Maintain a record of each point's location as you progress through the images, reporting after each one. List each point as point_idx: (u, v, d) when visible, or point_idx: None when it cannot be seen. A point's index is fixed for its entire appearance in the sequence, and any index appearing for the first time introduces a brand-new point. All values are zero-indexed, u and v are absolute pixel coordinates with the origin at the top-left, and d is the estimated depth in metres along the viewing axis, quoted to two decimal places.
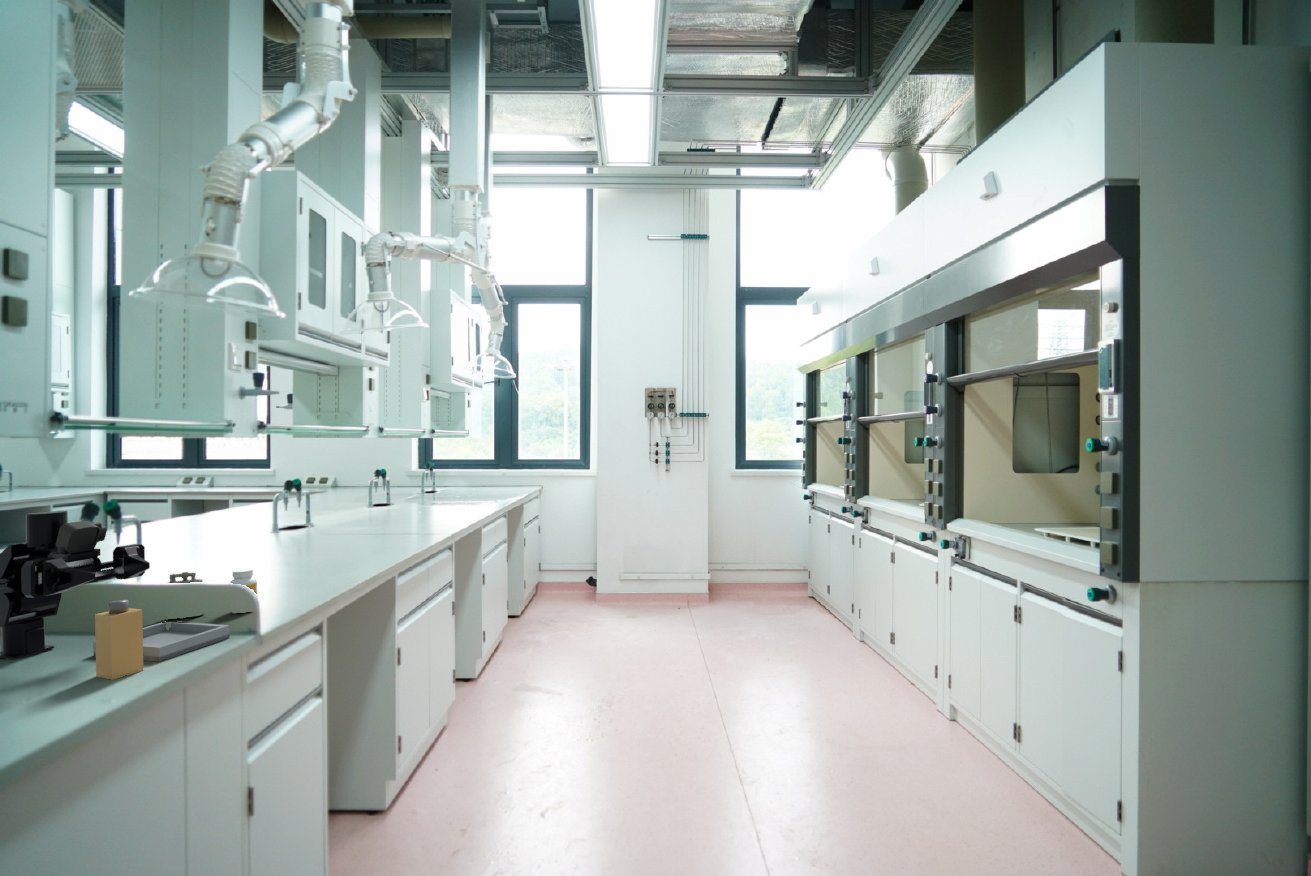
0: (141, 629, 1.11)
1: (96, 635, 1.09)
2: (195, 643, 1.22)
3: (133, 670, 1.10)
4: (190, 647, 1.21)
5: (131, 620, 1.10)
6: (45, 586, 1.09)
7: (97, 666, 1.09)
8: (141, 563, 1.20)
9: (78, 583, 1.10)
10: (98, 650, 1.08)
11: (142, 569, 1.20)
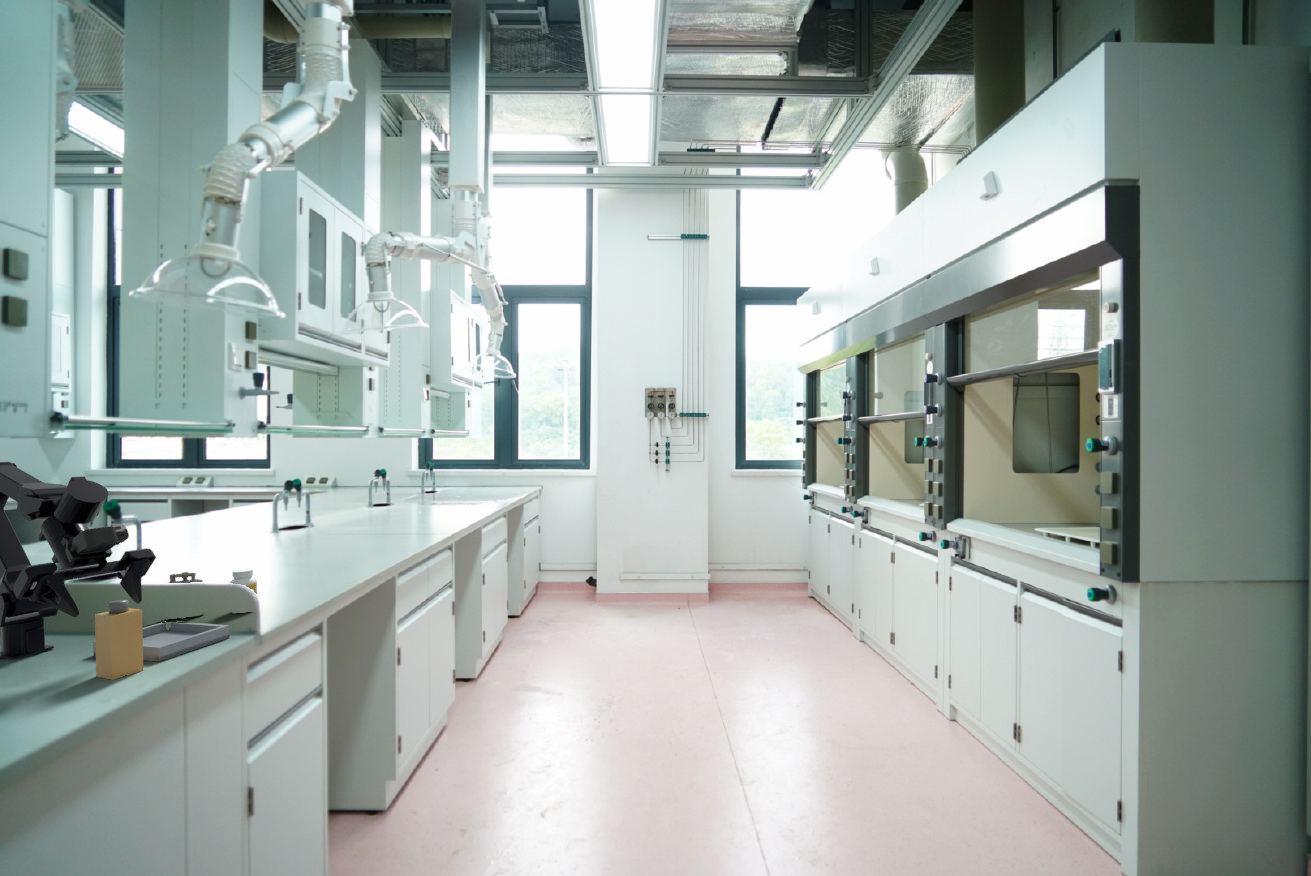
0: (141, 629, 1.11)
1: (96, 635, 1.09)
2: (195, 643, 1.22)
3: (133, 670, 1.10)
4: (190, 647, 1.21)
5: (131, 620, 1.10)
6: (34, 595, 1.06)
7: (97, 666, 1.09)
8: (135, 594, 1.15)
9: (62, 610, 1.07)
10: (98, 650, 1.08)
11: (133, 599, 1.16)
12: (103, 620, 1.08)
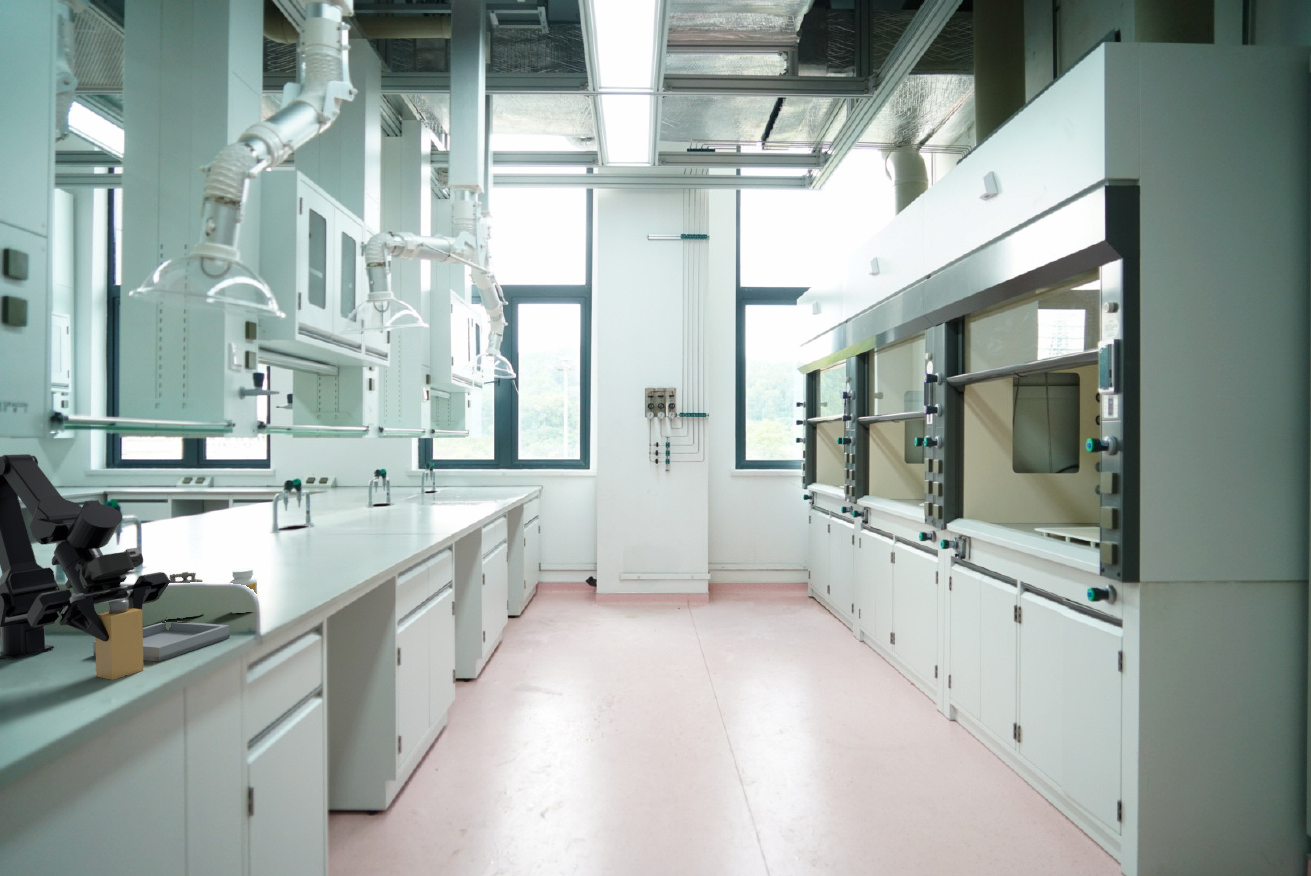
0: (141, 629, 1.11)
1: None
2: (195, 643, 1.22)
3: (133, 670, 1.10)
4: (190, 647, 1.21)
5: (132, 620, 1.10)
6: (64, 620, 1.06)
7: (97, 666, 1.09)
8: None
9: (92, 634, 1.07)
10: (98, 650, 1.08)
11: None
12: (103, 620, 1.08)
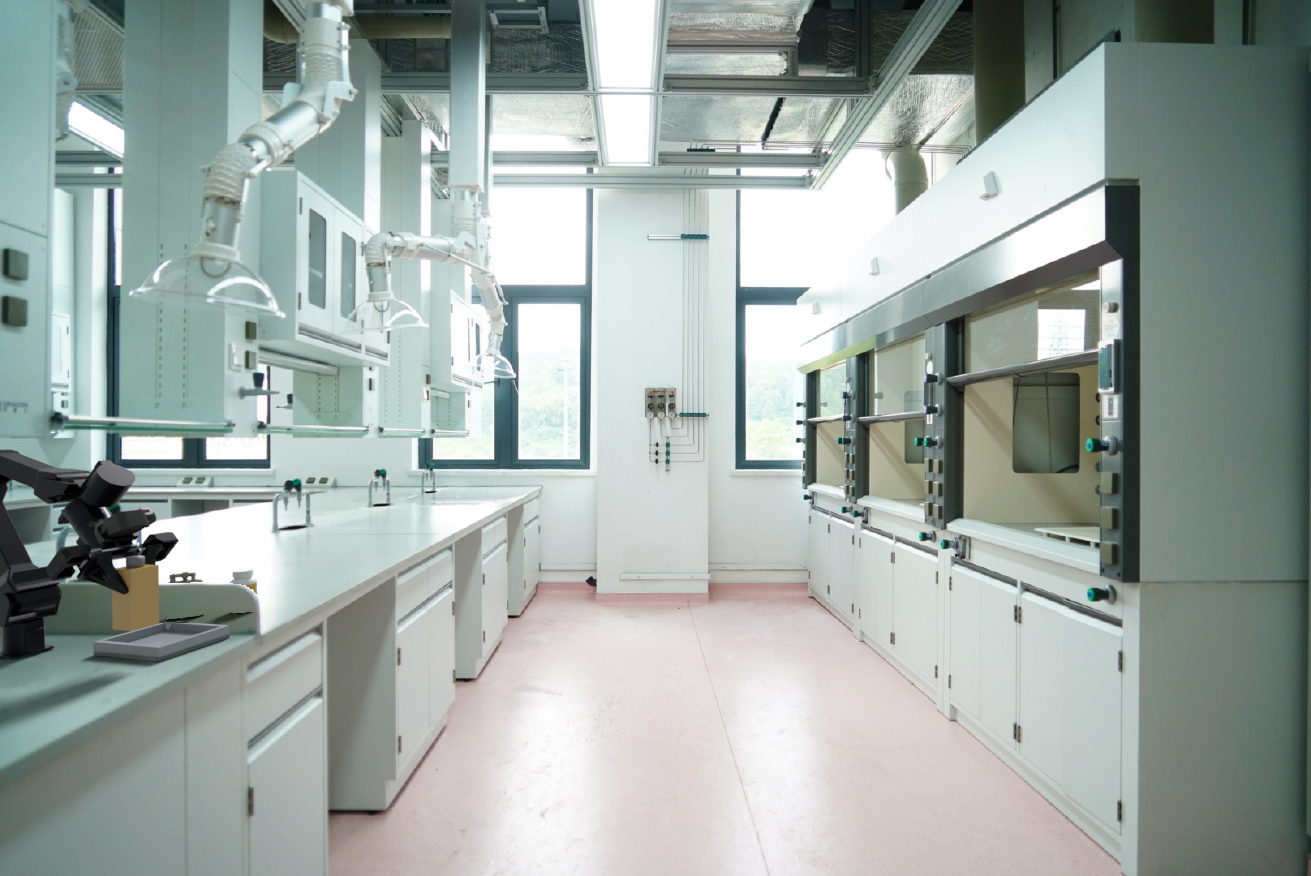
0: (157, 584, 1.15)
1: None
2: (195, 643, 1.22)
3: (150, 623, 1.14)
4: (190, 647, 1.21)
5: (149, 575, 1.14)
6: (82, 574, 1.10)
7: (114, 619, 1.12)
8: None
9: (110, 588, 1.11)
10: (115, 604, 1.12)
11: None
12: (122, 574, 1.12)
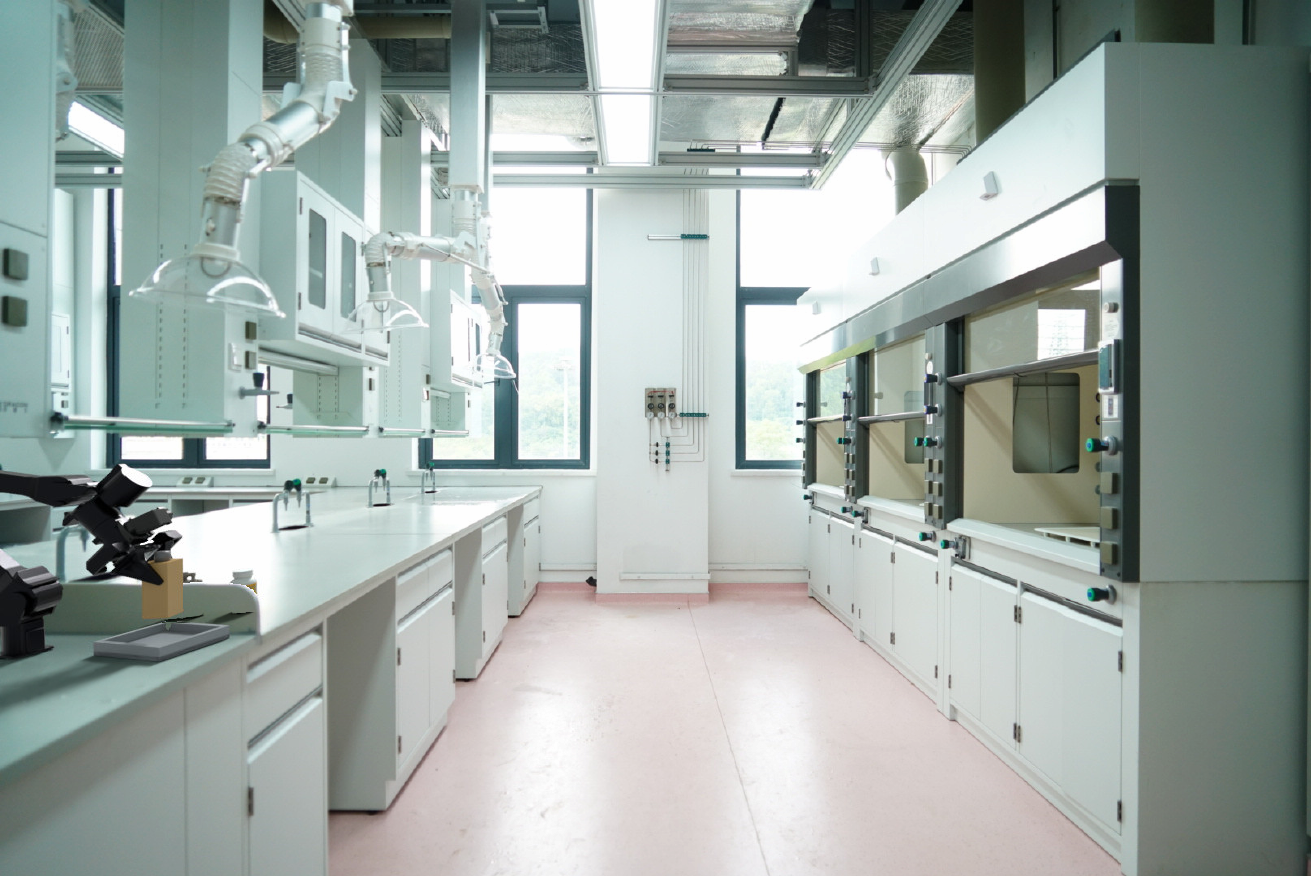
0: (182, 575, 1.27)
1: (143, 582, 1.22)
2: (195, 643, 1.22)
3: (178, 611, 1.25)
4: (190, 647, 1.21)
5: (177, 567, 1.25)
6: (117, 568, 1.18)
7: (144, 609, 1.22)
8: None
9: (144, 580, 1.21)
10: (146, 595, 1.22)
11: None
12: (155, 567, 1.22)
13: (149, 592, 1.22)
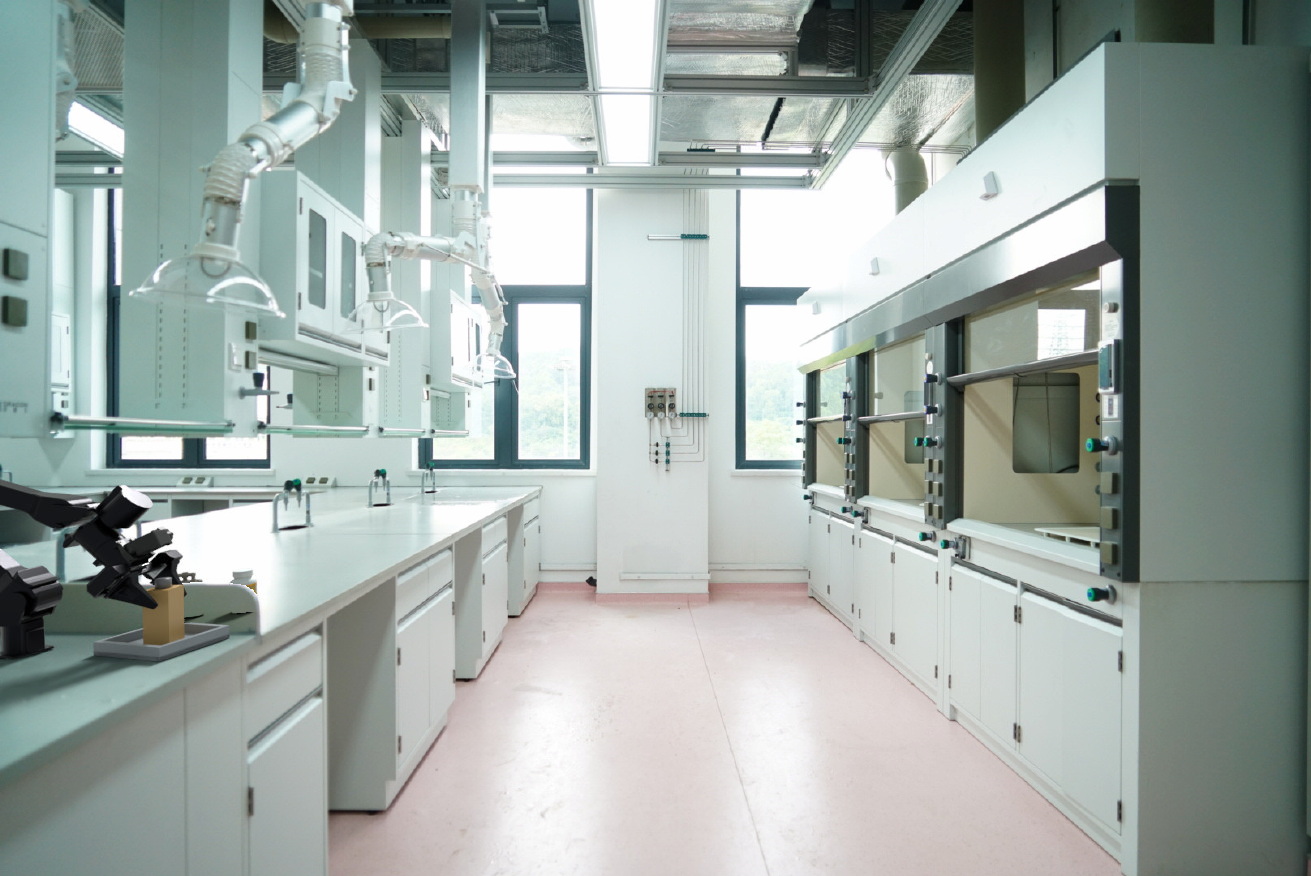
0: (183, 601, 1.27)
1: (144, 609, 1.22)
2: (195, 643, 1.22)
3: (179, 637, 1.25)
4: (190, 647, 1.21)
5: (178, 594, 1.25)
6: (111, 593, 1.17)
7: (145, 637, 1.22)
8: None
9: (138, 604, 1.19)
10: (147, 623, 1.22)
11: None
12: (156, 594, 1.22)
13: (150, 619, 1.22)
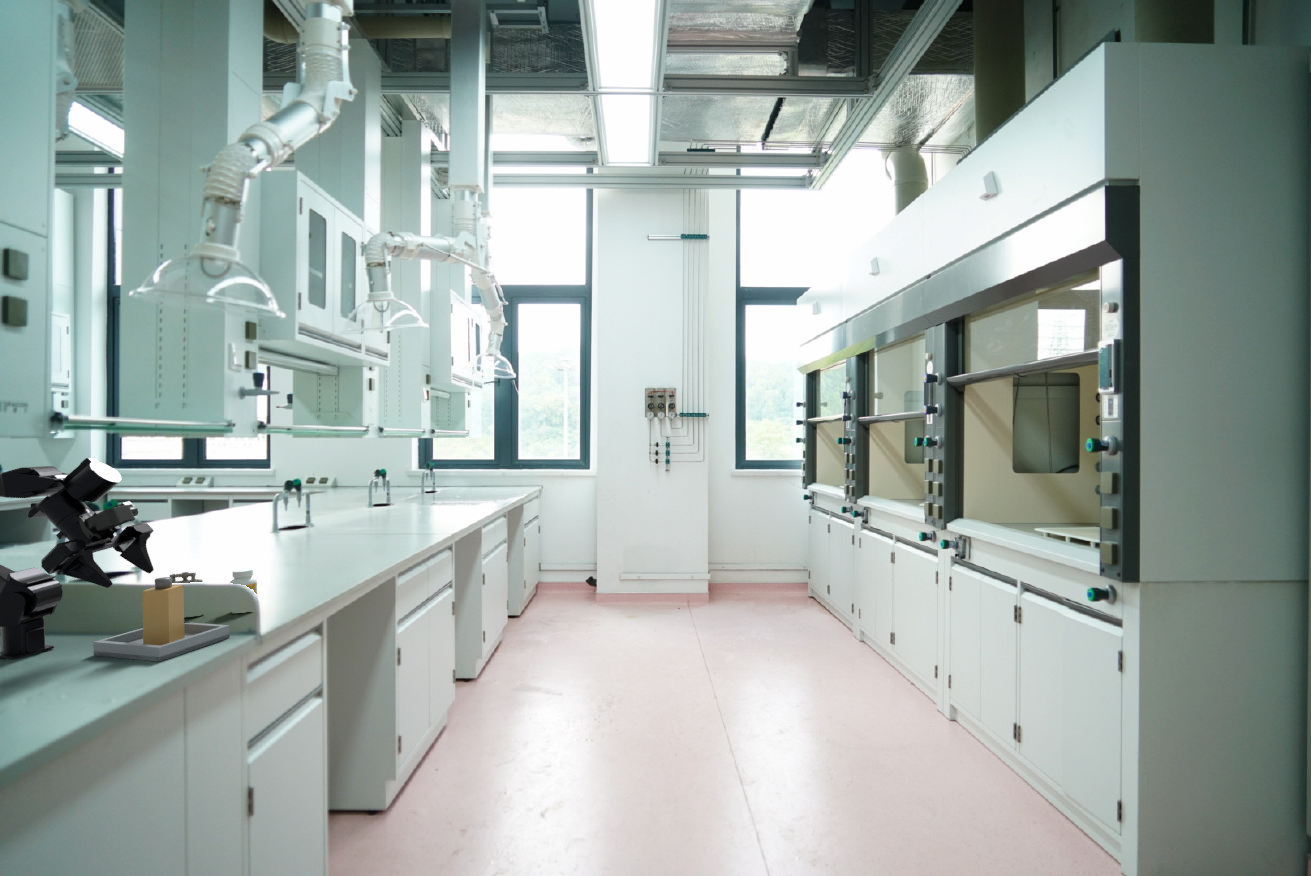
0: (183, 601, 1.27)
1: (144, 609, 1.22)
2: (195, 643, 1.22)
3: (179, 637, 1.25)
4: (190, 647, 1.21)
5: (178, 594, 1.25)
6: (64, 570, 1.15)
7: (145, 637, 1.22)
8: (146, 565, 1.27)
9: (92, 582, 1.17)
10: (147, 623, 1.22)
11: (143, 569, 1.27)
12: (156, 594, 1.22)
13: (150, 619, 1.22)
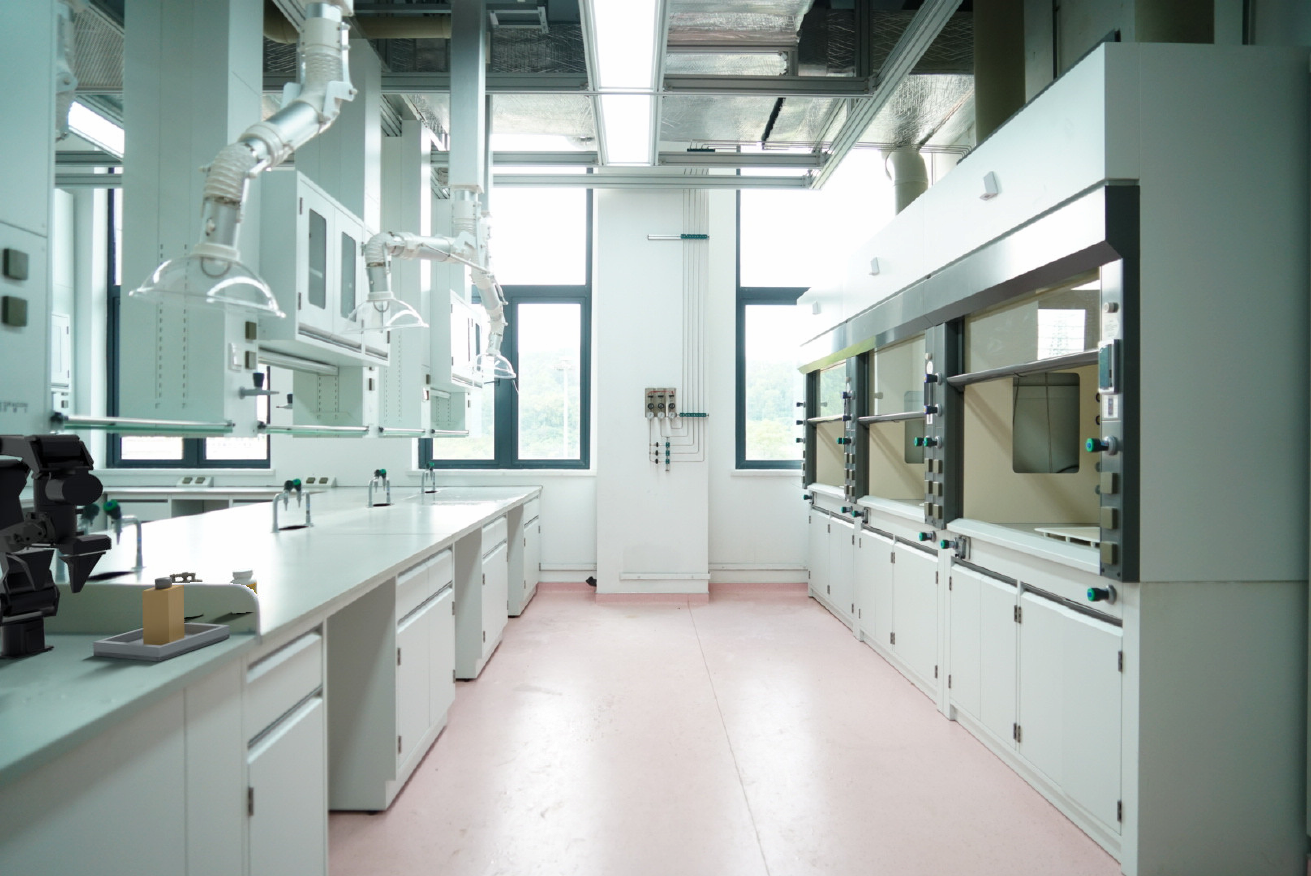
0: (183, 601, 1.27)
1: (144, 609, 1.22)
2: (195, 643, 1.22)
3: (179, 637, 1.25)
4: (190, 647, 1.21)
5: (178, 594, 1.25)
6: None
7: (145, 637, 1.22)
8: None
9: None
10: (147, 623, 1.22)
11: None
12: (156, 594, 1.22)
13: (150, 619, 1.22)
